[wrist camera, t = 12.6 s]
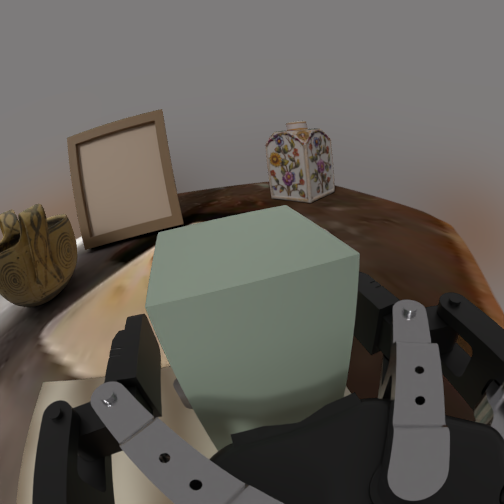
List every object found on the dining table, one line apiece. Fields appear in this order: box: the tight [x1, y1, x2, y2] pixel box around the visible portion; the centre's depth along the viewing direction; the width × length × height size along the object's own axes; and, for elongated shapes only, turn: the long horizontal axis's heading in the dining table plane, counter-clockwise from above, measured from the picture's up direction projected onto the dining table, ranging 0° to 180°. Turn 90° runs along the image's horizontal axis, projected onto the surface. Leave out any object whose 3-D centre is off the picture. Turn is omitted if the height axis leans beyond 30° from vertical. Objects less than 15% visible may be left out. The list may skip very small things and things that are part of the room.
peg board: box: [16, 366, 351, 504], centre depth 12 cm, size 24×16×4 cm, turn 105°
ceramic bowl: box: [0, 204, 77, 307], centre depth 32 cm, size 22×17×15 cm
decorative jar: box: [265, 121, 335, 203], centre depth 62 cm, size 12×12×18 cm
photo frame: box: [67, 109, 184, 250], centre depth 54 cm, size 15×22×25 cm
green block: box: [145, 205, 360, 451], centre depth 11 cm, size 5×5×12 cm
